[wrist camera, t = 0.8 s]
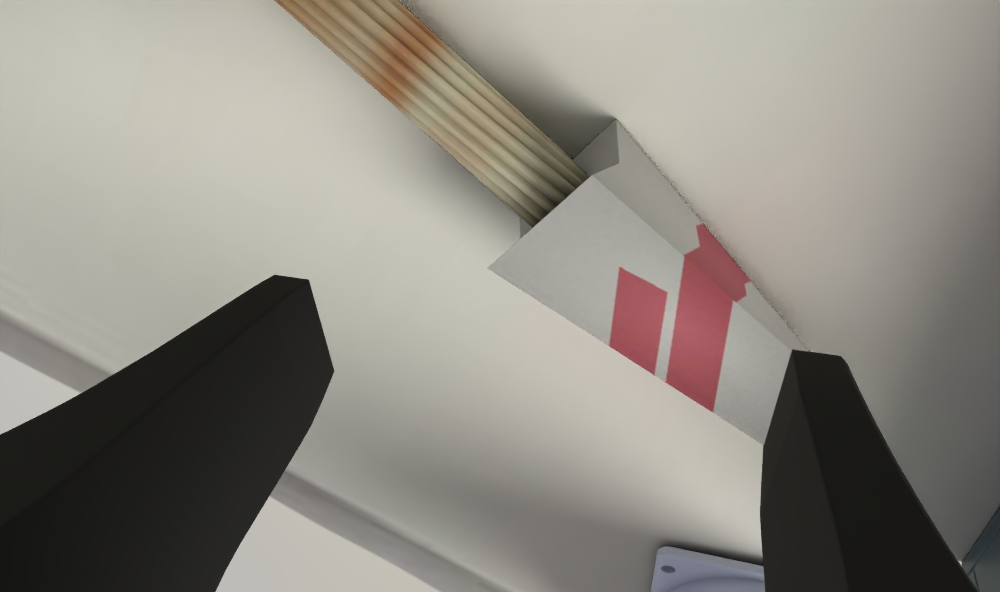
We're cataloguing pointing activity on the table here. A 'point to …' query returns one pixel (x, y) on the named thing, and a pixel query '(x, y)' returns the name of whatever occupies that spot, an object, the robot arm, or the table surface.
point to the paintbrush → (581, 220)
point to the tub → (985, 558)
